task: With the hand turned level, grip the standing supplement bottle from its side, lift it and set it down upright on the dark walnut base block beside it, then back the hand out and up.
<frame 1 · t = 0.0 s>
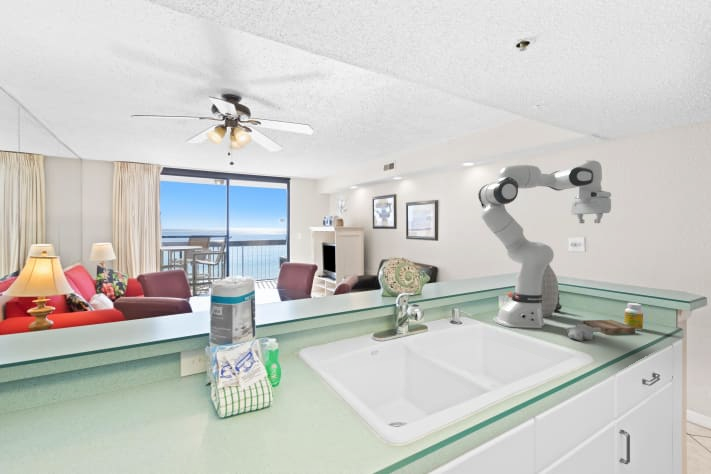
hand: (589, 223, 158), 48 cm above the counter, tool pointing down, fingers open, 8 cm apart
salt shaker: (555, 312, 177), on the counter
vase: (543, 315, 169), on the counter
supplement bottle: (633, 329, 148), on the counter
bunny figurine: (582, 338, 136), on the counter
walnut base: (608, 329, 146), on the counter
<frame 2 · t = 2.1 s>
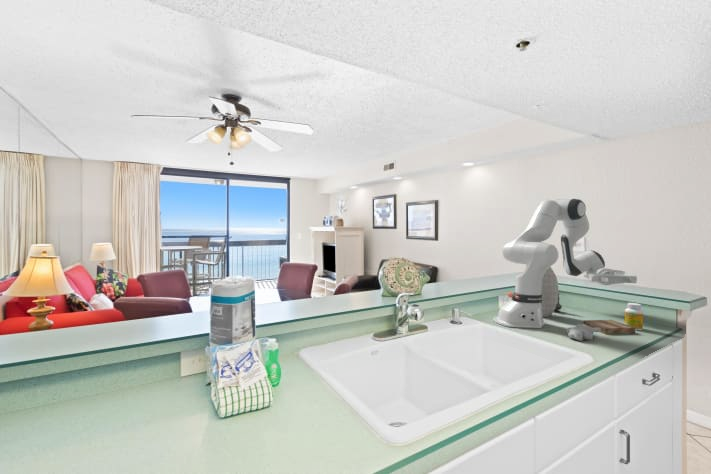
hand: (620, 280, 159), 20 cm above the counter, tool horizontal, fingers open, 8 cm apart
nothing on the counter moved.
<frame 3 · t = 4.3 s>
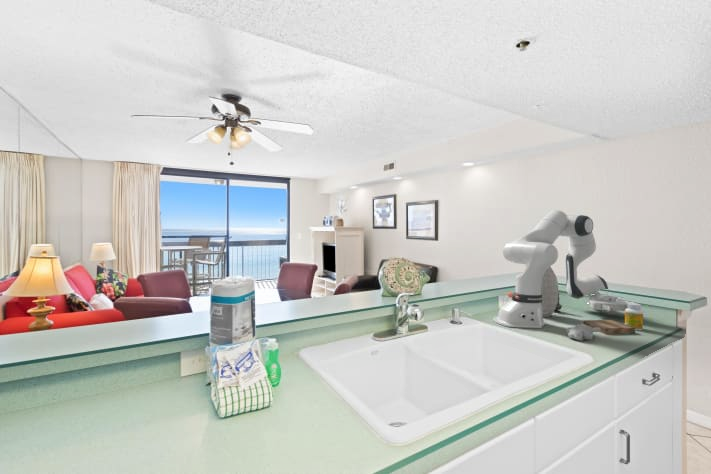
hand: (622, 309, 157), 6 cm above the counter, tool horizontal, fingers open, 8 cm apart
nothing on the counter moved.
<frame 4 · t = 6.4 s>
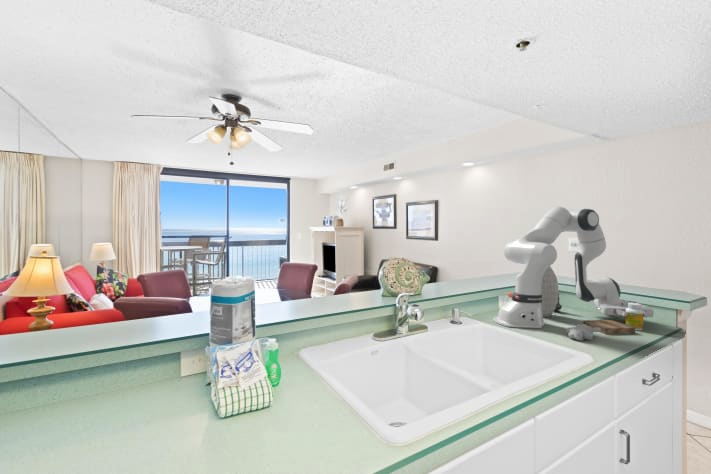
hand: (635, 314, 146), 7 cm above the counter, tool horizontal, fingers open, 6 cm apart
supplement bottle: (633, 328, 148), on the counter, touching gripper
everything else where it was.
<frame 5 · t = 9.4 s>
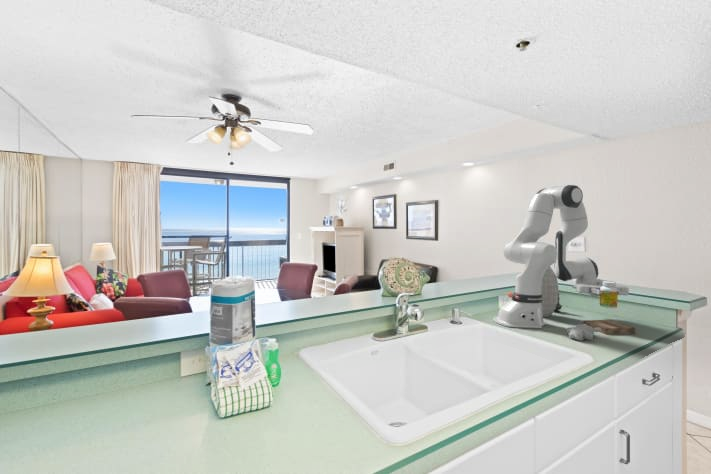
hand: (610, 292, 145), 17 cm above the counter, tool horizontal, fingers closed on supplement bottle, 6 cm apart
supplement bottle: (608, 307, 146), point 10 cm above the counter, touching gripper
everything else where it was.
when the fingers open (10 cm above the counter, at t = 11.4 s): supplement bottle drops 1 cm, resting on walnut base.
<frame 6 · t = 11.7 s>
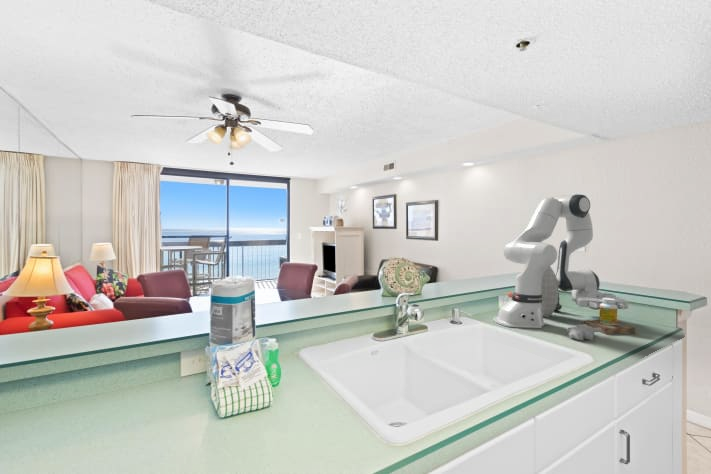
hand: (610, 306, 145), 10 cm above the counter, tool horizontal, fingers open, 8 cm apart
supplement bottle: (608, 324, 147), point 2 cm above the counter, touching walnut base
everything else where it was.
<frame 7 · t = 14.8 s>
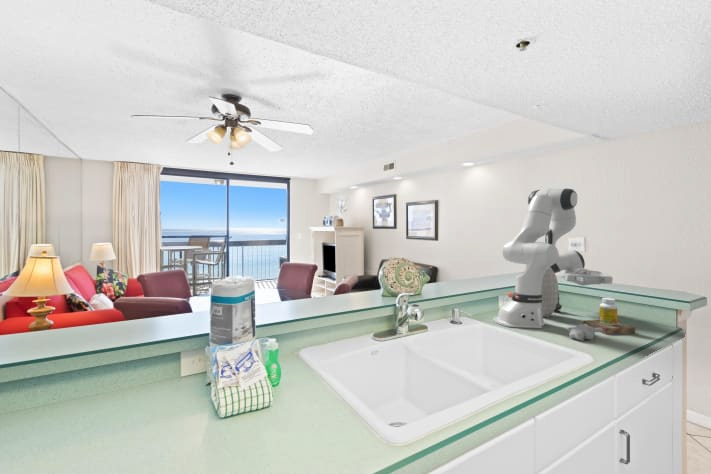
hand: (595, 280, 157), 20 cm above the counter, tool horizontal, fingers open, 8 cm apart
nothing on the counter moved.
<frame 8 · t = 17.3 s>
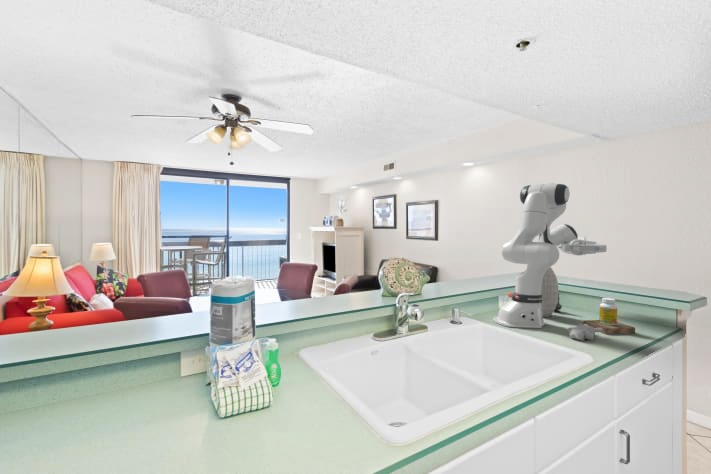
hand: (590, 248, 166), 35 cm above the counter, tool horizontal, fingers open, 8 cm apart
nothing on the counter moved.
at the end: supplement bottle inside the target area on the walnut base (0.4 cm from its centre), point 2.3 cm above the walnut base's base; supplement bottle tilted 0°; the gripper is holding nothing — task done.
